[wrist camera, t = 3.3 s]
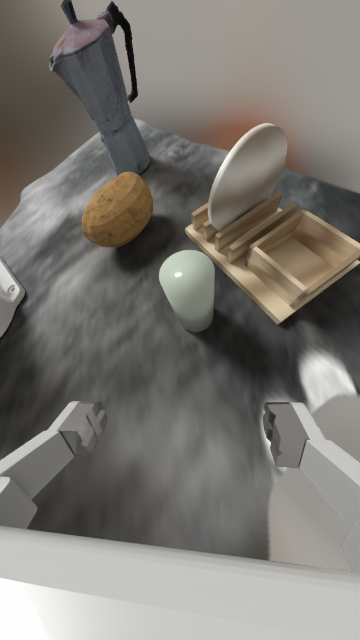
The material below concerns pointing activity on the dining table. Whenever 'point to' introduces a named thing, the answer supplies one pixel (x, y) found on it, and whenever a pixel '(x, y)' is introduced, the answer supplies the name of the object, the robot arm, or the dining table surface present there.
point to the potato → (118, 211)
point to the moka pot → (102, 83)
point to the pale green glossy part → (190, 288)
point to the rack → (268, 230)
